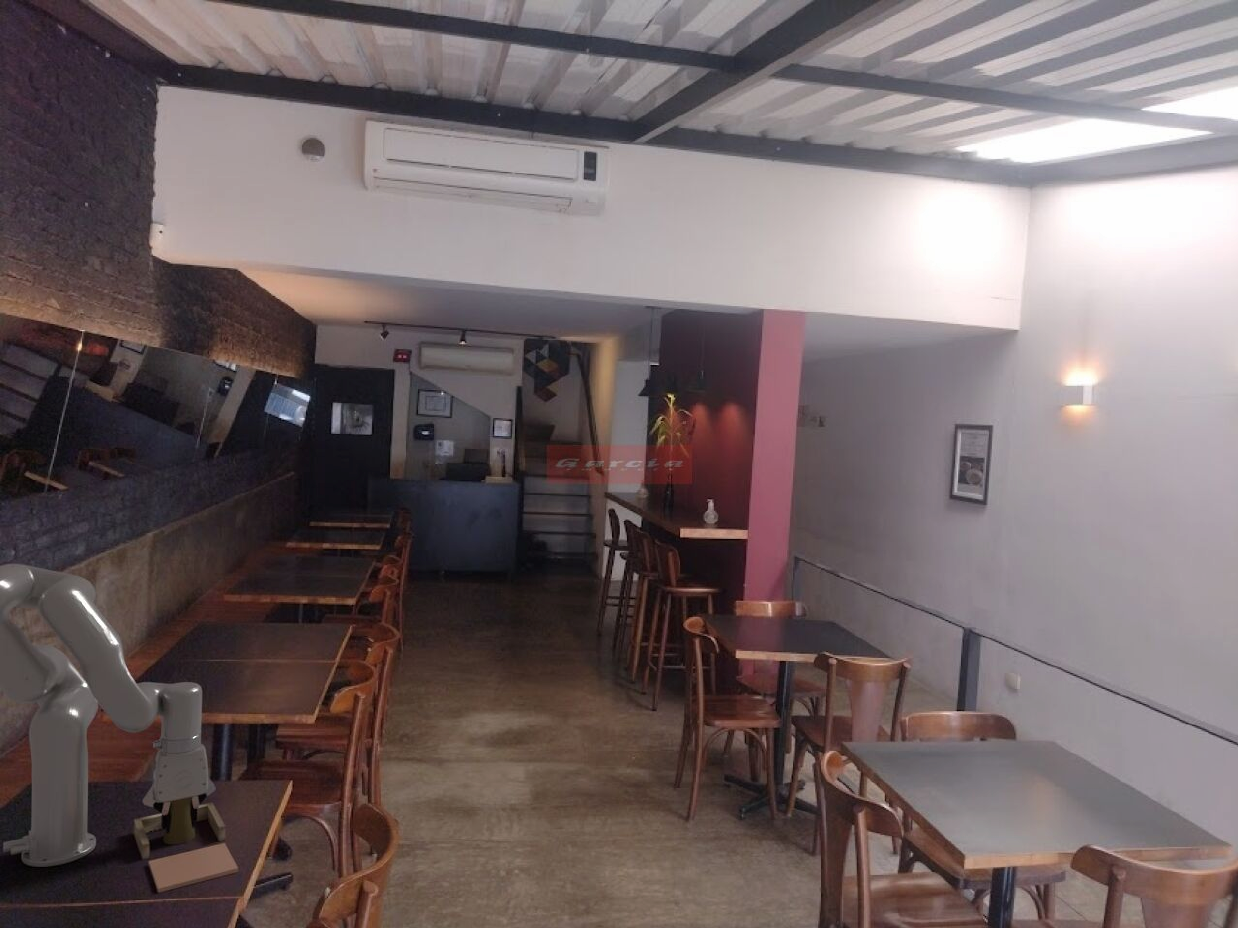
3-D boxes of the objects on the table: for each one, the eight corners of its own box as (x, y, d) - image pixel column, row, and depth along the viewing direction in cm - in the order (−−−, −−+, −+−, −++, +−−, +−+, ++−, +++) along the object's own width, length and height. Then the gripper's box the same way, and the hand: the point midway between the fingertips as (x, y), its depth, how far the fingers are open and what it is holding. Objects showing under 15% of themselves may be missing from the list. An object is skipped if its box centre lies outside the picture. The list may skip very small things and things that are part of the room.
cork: (181, 846, 176) (182, 794, 175) (156, 842, 177) (157, 790, 176) (201, 832, 182) (202, 782, 181) (177, 829, 183) (178, 779, 182)
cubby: (142, 859, 170) (142, 844, 170) (133, 832, 180) (133, 819, 180) (225, 839, 179) (225, 825, 179) (212, 815, 190) (212, 802, 189)
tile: (158, 892, 158) (158, 888, 158) (148, 864, 168) (148, 860, 168) (238, 871, 167) (238, 867, 167) (224, 846, 176) (224, 842, 176)
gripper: (138, 756, 170) (136, 845, 171) (227, 740, 180) (225, 825, 181) (133, 744, 176) (131, 830, 177) (220, 730, 186) (218, 811, 187)
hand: (179, 826), depth 179 cm, fingers closed on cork, 3 cm apart
